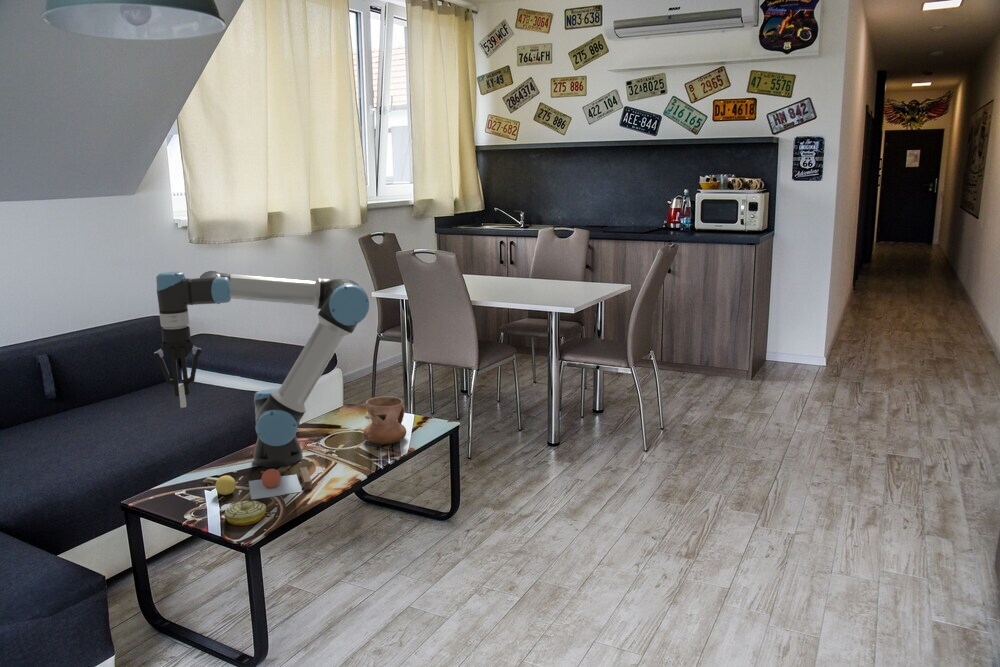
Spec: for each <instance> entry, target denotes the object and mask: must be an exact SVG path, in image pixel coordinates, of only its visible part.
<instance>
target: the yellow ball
mask: <svg viewBox="0 0 1000 667" xmlns="http://www.w3.org/2000/svg"><path fill="white" fill-rule="evenodd" d="M236 485H237V483H236V480H235V478H234V477H232V476H231V475H227V474H226V475H222V476H220V477H219V478H218V479H217V480H216V481H215V490H216V492H217V493H218V494H220V495H222V496H227V495H230V494H232V493H233V492H234V491H235V489H236Z"/></svg>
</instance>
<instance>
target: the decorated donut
mask: <svg viewBox="0 0 1000 667" xmlns="http://www.w3.org/2000/svg"><path fill="white" fill-rule="evenodd" d="M266 512H267V506H266V504H264V503H263V502H261V501H257V500H244V501H243V500H242V501H237V502H235V503H233V504H232V505H231V504H230V506H229V507H227V508H226V509H225V511H224V517H225V519H226V521H227V523H229V524H230V525H233V526H239V527H242V526H243V527H244V526H249V525H252V524H253V525H254V524H256V523H258V522H260V521H261V520H262V519H263V518H264V517H265V515H266Z"/></svg>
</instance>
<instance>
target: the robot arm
mask: <svg viewBox="0 0 1000 667" xmlns="http://www.w3.org/2000/svg"><path fill="white" fill-rule="evenodd" d="M155 281H156V294H157V303H158V311H159V322H160V326H161V329H160V333H161V340H162V344H161V347H160V349H158V350H157V351H154V353H153V357H154V358H155V359H156V360H157V361H158V364H159V366H160V368H161V372H162V374H163V376H164V379H165V381H166V384H167V385H172V386H173V390H174V396H175V397H179V404H180V407H179V408H182V409H183V408H187V399H186V396H189V395H190V386H189V385H190V384H191V383H194V382H195V379H196V372H197V366H198V361H199V357H200V355H201V353H202V348H201V347H197V346H196V345H194V343H193V342H192V339H191V329H190V328H191V327H190V326H189V324H190V319H189V318H190V317H189V309H188V306H193V305H214V304H216V305H220V304H226V303H229V302H231V300H232V299H233V300H243V301H244V300H246V301H258V302H269V303H281V304H292V305H294V304H295V305H306V306H313V307H314V308H315V309H316V310H319V312H318V313H317V316H318V321H319V322H318V323H317V325H316V327H315V328H314V330H313V332H311V335H310V337H309V338H308V341H307V342H306V343H305V345H304V347H303V348H302V351H300V353H299V355H298V357H297V359H296V360H295V362H294V363H293V365H292V367H291V369H290V370H289V372H288V374H287V375H286V378H285V379H284V381H283V382H282V384H281V386H280V387H278V388H267V389H263V390H260V391H259V390H258V391H256V392H255V393H254V394H253V395H254V397H253V398H254V399H253V403H254V410H255V411H254V412H255V424H254V429H255V433H256V435H257V440H256V443H255V447H254V451H253V454H252V455H253V456H252V457H253V463H254V464H255V465H256V466H258V467H262V468H280V467H281V468H282V467H286V466H290V465H294V464H295V463H297V462H299V461H301V460H302V458H303V449H302V447H301V445H300V442H299V440H298V437H297V432H298V425H299V423H301V422H300V421H301V420H302V418H303V416H304V415H305V413H306V412H307V409H306V406H305V403H306V401H307V400H308V398H309V397H310V395H311V393H312V391H313V390H314V388H315V386H316V385H317V383H318V382H319V380H320V378H321V376H322V375H323V373H324V371H325V370H326V368H327V367H328V364H329V363H330V361H331V359H332V358H333V356H334V354H335V353H336V351H337V350H338V348H339V346H340V345H341V343H342V341H343V339H344V338H345V337H346V336H349V335H352V334H353V332H354V331H355V329H356V327H357V326H358V324H360V323H361V322H362V321H364V320H365V318H366V317H367V315H368V313H369V309H370V299H369V297H368V294H367V291H365V290H364V288H363V287H361V286H360V285H359V284H358V283H357V282H355V281H354V280H351V279H347V278H321V277H319V278H317V279H315V280H304V279H293V278H284V277H283V278H282V277H271V276H258V275H246V274H239V273H238V274H235V273H226V272H225V273H224V272H218V271H216V270H208V271H205V272H204V273H203V274H201V275H200V276H199V278H198V277H196V278H195V277H194V278H186V275H185V272H183V271H166V272H160V273H158V274H157V275H156V280H155ZM191 351H192V354H193V357H192V365H191V369H190V370H191V371H190V376H188V369H187V367H188V366H187V357H188V355H189V354H190V353H191ZM164 354H165V356H167V357H168V358H169V359H170V362H171V369H172V377H171V375H170V372H169V369H168V367H167V365H166V362H165V360H164ZM178 359H180V364H181V371H182V380H183V383H179V382H180V381H179V373H178V364H177V362H178V361H177V360H178Z"/></svg>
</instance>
